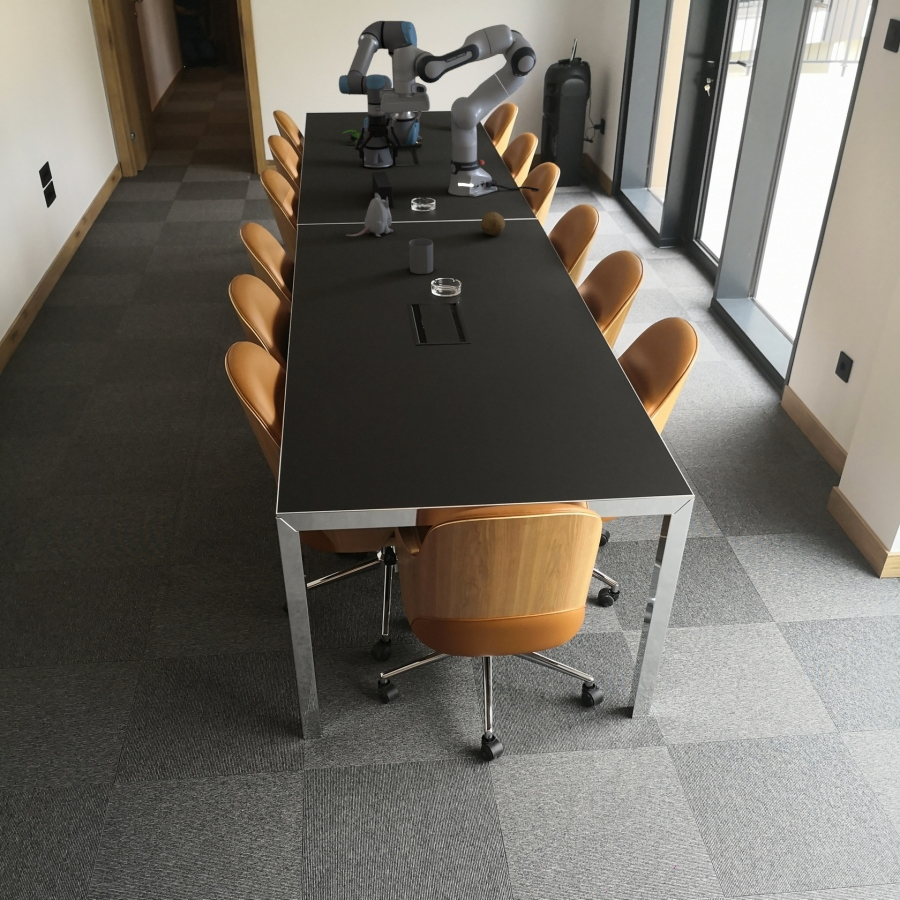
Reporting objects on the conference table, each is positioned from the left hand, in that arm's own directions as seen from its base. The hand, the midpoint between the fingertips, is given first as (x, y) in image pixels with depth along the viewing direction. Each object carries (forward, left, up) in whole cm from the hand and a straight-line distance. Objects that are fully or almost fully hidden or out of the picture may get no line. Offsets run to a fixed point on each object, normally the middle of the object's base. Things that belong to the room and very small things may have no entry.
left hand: (378, 165), depth 379 cm
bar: (+6, +6, -13) cm, 15 cm away
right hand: (+1, +16, +20) cm, 26 cm away
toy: (+47, +32, -13) cm, 58 cm away
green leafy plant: (-72, -64, -13) cm, 97 cm away
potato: (+17, +70, -13) cm, 73 cm away
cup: (+64, +69, -13) cm, 95 cm away
